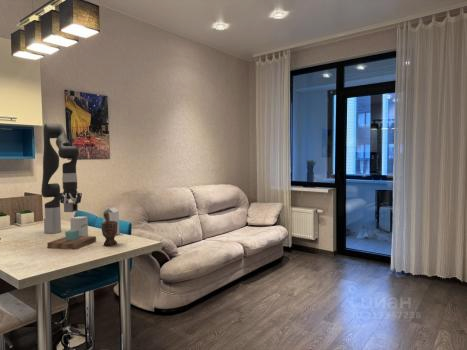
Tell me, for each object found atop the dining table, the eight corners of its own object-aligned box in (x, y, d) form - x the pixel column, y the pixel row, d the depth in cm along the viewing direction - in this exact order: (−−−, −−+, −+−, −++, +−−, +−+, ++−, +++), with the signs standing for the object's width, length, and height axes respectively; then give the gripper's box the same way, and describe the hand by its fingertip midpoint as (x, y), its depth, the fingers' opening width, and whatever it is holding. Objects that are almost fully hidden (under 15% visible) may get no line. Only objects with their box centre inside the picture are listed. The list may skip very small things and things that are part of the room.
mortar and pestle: (119, 246, 185) (118, 211, 184) (103, 248, 181) (102, 212, 180) (116, 242, 195) (115, 208, 194) (101, 244, 191) (100, 209, 190)
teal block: (65, 240, 189) (65, 231, 188) (71, 238, 193) (71, 229, 193) (73, 240, 188) (73, 232, 187) (79, 238, 192) (78, 230, 192)
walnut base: (47, 248, 184) (47, 242, 184) (69, 240, 201) (69, 235, 201) (75, 249, 180) (75, 244, 180) (96, 241, 198) (95, 236, 197)
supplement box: (81, 238, 206) (80, 218, 205) (70, 238, 207) (69, 218, 207) (88, 235, 213) (87, 216, 212) (78, 235, 215) (77, 216, 214)
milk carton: (119, 233, 219) (118, 204, 218) (114, 235, 212) (113, 206, 211) (109, 233, 219) (108, 204, 218) (103, 235, 212) (102, 206, 211)
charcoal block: (64, 212, 188) (63, 203, 188) (70, 210, 193) (69, 202, 192) (71, 212, 187) (71, 203, 186) (77, 210, 191) (77, 202, 191)
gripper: (54, 181, 187) (55, 211, 187) (76, 181, 184) (77, 211, 184) (63, 180, 194) (64, 209, 195) (85, 180, 191) (86, 209, 192)
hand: (71, 210), depth 190 cm, fingers closed on charcoal block, 5 cm apart
